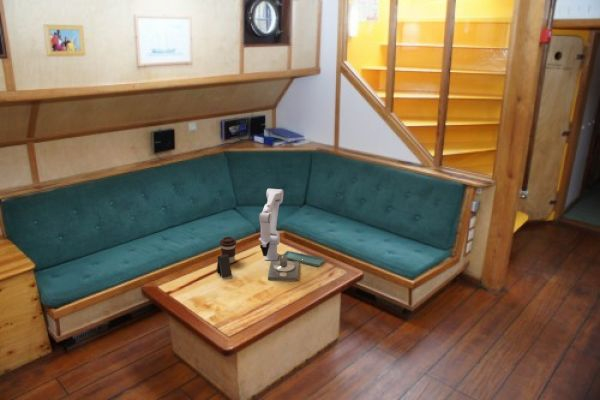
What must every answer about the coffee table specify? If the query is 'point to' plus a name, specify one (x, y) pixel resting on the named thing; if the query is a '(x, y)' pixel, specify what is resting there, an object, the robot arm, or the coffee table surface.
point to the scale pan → (284, 269)
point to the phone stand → (224, 266)
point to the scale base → (283, 273)
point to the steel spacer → (283, 260)
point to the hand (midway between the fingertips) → (265, 253)
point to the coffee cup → (228, 247)
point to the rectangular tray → (304, 258)
